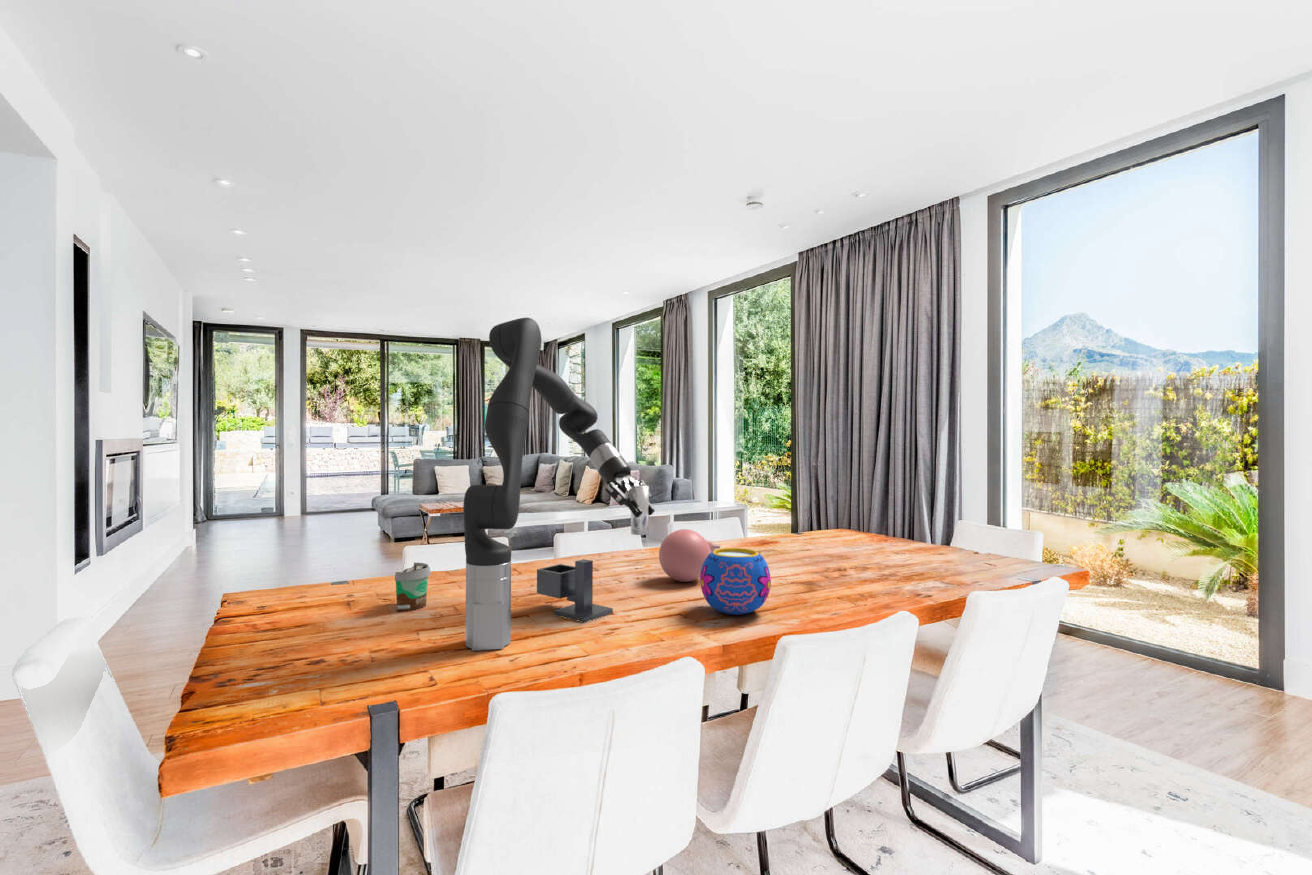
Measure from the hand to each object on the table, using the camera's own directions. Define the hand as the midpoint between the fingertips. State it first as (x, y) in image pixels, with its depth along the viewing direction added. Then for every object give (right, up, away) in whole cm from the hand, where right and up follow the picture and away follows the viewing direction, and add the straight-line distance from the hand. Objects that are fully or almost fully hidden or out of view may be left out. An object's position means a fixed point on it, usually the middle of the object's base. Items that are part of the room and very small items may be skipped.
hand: (645, 514), depth 161 cm
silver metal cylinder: (-2, -5, +1) cm, 5 cm away
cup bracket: (-18, -24, -3) cm, 30 cm away
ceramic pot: (+22, -24, -2) cm, 33 cm away
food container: (-58, -24, 0) cm, 62 cm away
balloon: (+13, -24, +31) cm, 41 cm away
